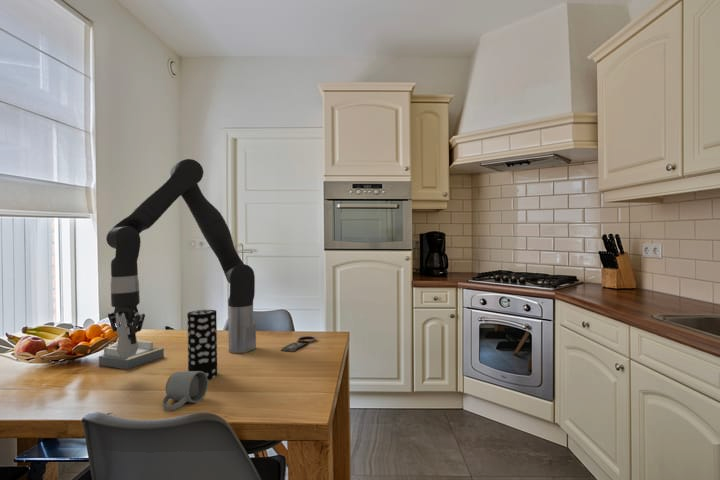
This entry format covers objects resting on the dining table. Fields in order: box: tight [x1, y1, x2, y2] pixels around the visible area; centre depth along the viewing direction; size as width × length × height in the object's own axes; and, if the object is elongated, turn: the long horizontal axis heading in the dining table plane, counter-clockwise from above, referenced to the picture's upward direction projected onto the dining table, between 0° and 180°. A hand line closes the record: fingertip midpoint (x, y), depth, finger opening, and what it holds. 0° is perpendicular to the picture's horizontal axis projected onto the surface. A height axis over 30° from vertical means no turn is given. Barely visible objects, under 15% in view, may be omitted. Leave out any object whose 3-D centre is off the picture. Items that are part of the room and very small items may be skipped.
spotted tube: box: [186, 309, 218, 381], centre depth 115 cm, size 8×8×20 cm
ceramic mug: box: [161, 370, 209, 412], centre depth 97 cm, size 11×8×8 cm
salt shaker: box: [116, 315, 138, 357], centre depth 116 cm, size 6×6×13 cm
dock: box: [98, 339, 165, 370], centre depth 132 cm, size 14×14×6 cm
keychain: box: [280, 335, 317, 353], centre depth 149 cm, size 8×19×2 cm, turn 158°
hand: (127, 345), depth 116 cm, fingers closed on salt shaker, 3 cm apart
